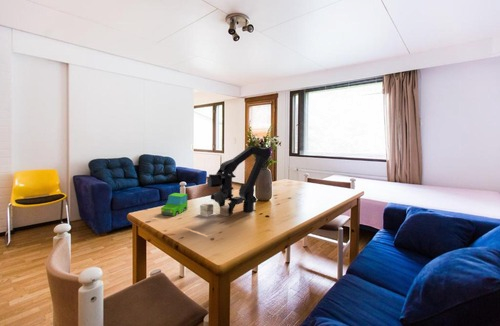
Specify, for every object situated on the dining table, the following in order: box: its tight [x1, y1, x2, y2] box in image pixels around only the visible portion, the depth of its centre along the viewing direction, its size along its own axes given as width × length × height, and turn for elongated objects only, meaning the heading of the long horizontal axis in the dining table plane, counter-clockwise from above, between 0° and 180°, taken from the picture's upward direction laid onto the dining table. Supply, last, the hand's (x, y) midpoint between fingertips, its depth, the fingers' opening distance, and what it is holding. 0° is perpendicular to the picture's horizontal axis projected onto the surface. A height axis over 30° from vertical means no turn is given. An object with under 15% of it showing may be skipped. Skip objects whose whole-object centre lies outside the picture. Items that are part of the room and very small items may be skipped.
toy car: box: [160, 192, 188, 217], centre depth 131 cm, size 10×13×10 cm
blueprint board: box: [198, 212, 217, 218], centre depth 131 cm, size 14×10×1 cm
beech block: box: [199, 202, 214, 217], centre depth 130 cm, size 5×5×5 cm
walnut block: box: [219, 204, 234, 217], centre depth 130 cm, size 5×5×5 cm
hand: (226, 213), depth 130 cm, fingers closed on walnut block, 5 cm apart
